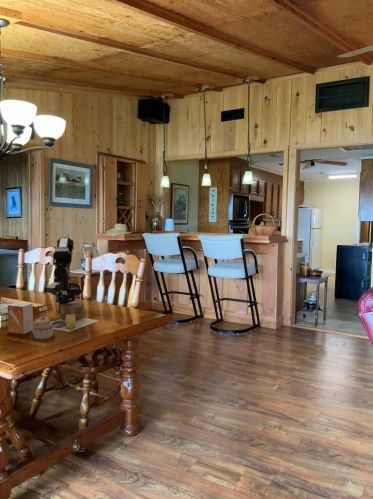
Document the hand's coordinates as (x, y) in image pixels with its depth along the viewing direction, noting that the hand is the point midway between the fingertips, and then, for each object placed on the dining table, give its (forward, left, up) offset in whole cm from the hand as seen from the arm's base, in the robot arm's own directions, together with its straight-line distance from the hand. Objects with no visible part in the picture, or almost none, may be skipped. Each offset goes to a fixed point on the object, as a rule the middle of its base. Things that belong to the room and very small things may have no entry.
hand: (63, 307), depth 198 cm
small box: (-1, -25, -6) cm, 26 cm away
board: (+9, -6, -6) cm, 13 cm away
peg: (+15, -12, -5) cm, 20 cm away
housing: (+5, 0, -5) cm, 7 cm away
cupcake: (+13, -26, -6) cm, 30 cm away
